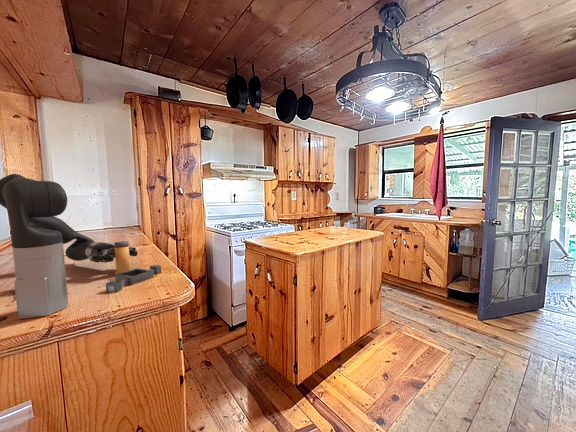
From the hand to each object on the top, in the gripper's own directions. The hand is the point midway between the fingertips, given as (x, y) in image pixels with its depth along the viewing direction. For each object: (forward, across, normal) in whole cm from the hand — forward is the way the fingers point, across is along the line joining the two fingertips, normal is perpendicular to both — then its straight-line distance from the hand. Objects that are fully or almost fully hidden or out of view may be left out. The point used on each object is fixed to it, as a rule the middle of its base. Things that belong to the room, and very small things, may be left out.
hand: (124, 255), depth 95 cm
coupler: (-2, 0, +7) cm, 7 cm away
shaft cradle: (+10, -3, +7) cm, 12 cm away
